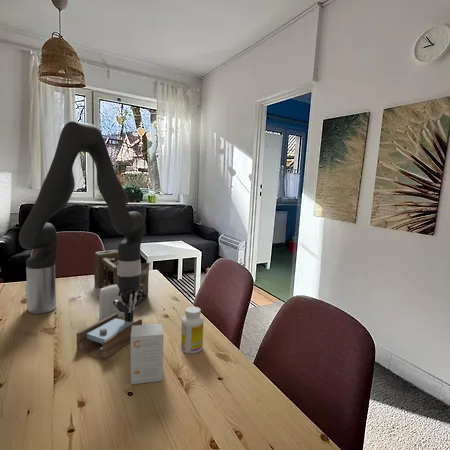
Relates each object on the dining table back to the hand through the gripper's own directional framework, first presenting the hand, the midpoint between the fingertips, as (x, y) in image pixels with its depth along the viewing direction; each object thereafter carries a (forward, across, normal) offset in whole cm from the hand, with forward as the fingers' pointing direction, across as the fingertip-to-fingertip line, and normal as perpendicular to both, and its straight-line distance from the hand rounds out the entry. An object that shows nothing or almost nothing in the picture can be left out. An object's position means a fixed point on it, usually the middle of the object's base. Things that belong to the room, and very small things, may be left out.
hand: (128, 321), depth 103 cm
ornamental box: (+4, -25, -24) cm, 35 cm away
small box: (+4, +16, +20) cm, 26 cm away
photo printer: (+4, -6, -12) cm, 14 cm away
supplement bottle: (+4, -1, +24) cm, 24 cm away
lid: (0, +8, 0) cm, 8 cm away
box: (+4, +8, 0) cm, 9 cm away
